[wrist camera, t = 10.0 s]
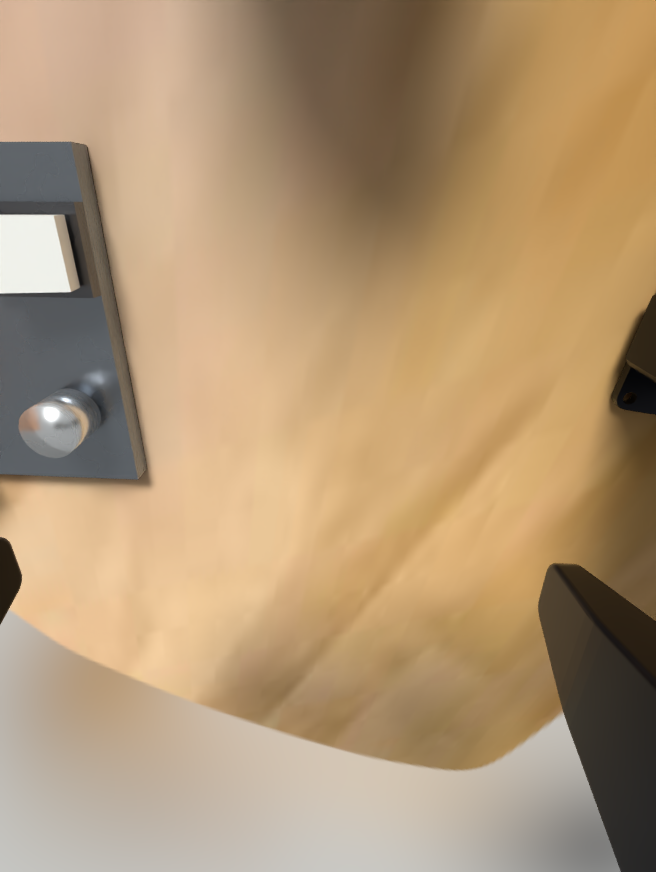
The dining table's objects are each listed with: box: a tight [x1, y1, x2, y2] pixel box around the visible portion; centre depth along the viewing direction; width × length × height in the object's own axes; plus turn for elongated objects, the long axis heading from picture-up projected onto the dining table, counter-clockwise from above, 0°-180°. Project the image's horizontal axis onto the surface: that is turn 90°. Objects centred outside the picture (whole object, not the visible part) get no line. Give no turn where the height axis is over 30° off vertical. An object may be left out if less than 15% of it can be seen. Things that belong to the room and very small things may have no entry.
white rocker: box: [0, 215, 80, 293], centre depth 16 cm, size 3×2×1 cm
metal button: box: [19, 388, 101, 458], centre depth 19 cm, size 2×2×2 cm
